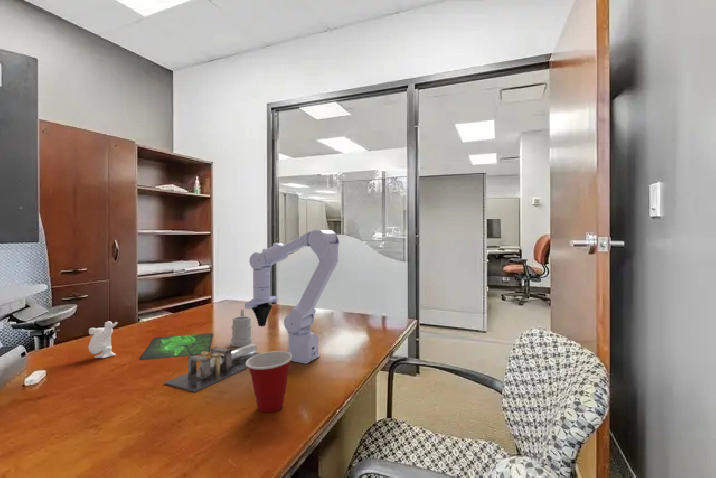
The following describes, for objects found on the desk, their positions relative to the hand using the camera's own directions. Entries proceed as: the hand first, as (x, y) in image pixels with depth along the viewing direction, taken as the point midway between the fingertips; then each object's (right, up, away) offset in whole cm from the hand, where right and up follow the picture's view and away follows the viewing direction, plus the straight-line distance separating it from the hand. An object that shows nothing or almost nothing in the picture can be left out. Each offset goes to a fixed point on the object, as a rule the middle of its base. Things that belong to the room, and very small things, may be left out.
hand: (261, 325), depth 128 cm
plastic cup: (+12, -10, -40) cm, 43 cm away
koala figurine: (-52, -10, -4) cm, 53 cm away
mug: (-11, -10, +12) cm, 19 cm away
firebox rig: (-8, -10, -16) cm, 20 cm away
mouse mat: (-33, -10, +8) cm, 35 cm away
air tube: (-7, -8, -13) cm, 17 cm away
